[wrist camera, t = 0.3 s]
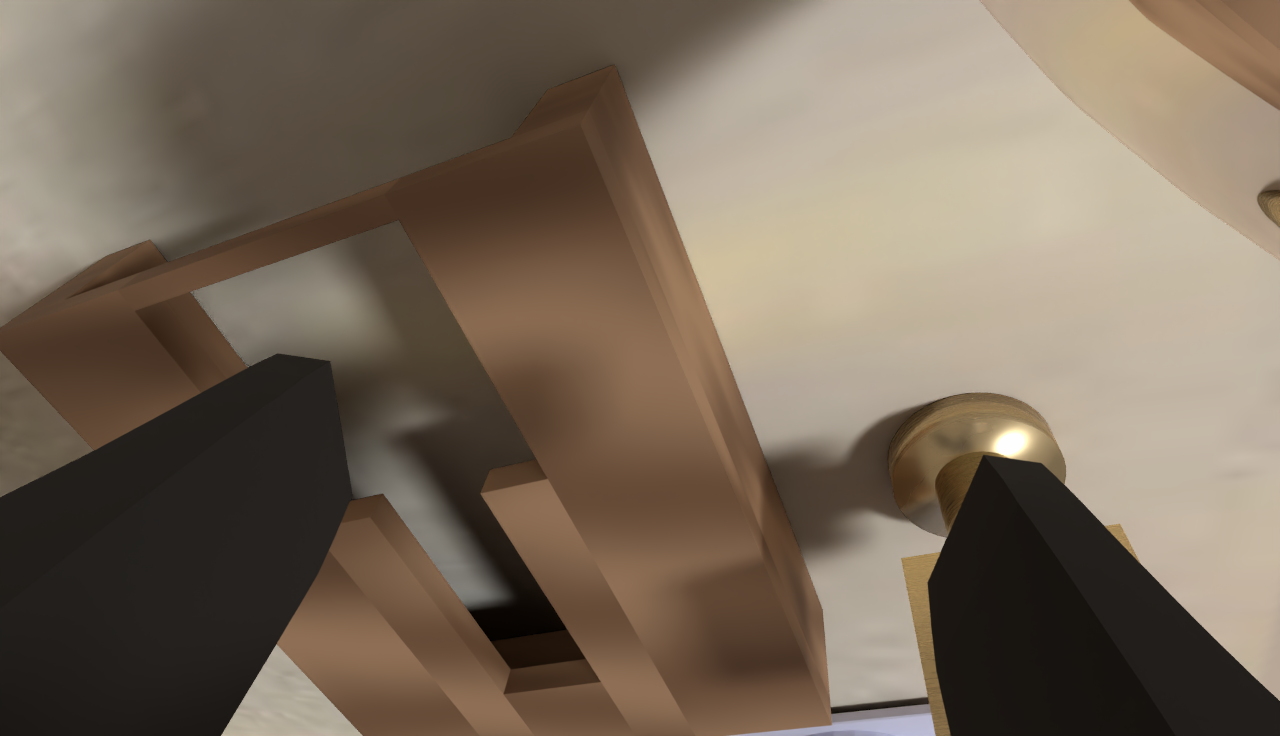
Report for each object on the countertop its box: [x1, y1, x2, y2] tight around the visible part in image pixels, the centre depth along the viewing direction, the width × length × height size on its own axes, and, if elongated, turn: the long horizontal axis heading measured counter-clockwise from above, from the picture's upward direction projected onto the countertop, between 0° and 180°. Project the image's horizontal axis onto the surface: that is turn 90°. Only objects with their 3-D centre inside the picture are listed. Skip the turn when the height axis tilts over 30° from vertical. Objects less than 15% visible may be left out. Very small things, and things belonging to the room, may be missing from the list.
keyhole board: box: [0, 65, 832, 736], centre depth 21 cm, size 17×14×4 cm
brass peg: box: [888, 393, 1140, 736], centre depth 17 cm, size 4×4×9 cm
